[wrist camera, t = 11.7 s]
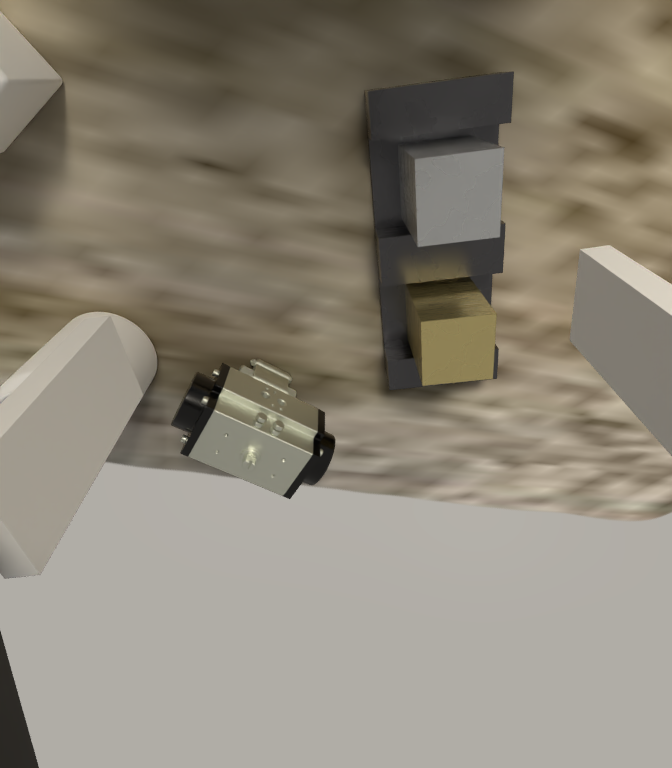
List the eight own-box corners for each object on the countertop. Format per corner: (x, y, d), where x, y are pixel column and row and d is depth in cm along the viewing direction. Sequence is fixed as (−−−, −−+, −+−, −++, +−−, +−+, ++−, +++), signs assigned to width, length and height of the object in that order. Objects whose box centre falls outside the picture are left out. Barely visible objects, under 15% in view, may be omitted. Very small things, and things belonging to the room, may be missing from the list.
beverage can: (179, 364, 44) (134, 449, 34) (112, 405, 47) (51, 497, 36) (111, 290, 41) (39, 360, 31) (43, 339, 43) (-47, 419, 33)
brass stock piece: (405, 281, 40) (421, 321, 34) (467, 274, 40) (496, 314, 33) (407, 337, 43) (422, 385, 36) (466, 331, 43) (492, 378, 36)
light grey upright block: (397, 144, 35) (414, 159, 28) (469, 134, 35) (504, 147, 28) (401, 217, 38) (417, 246, 31) (468, 208, 38) (499, 237, 31)
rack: (364, 90, 34) (367, 91, 31) (499, 72, 33) (513, 71, 31) (385, 372, 45) (389, 390, 43) (487, 361, 45) (496, 378, 42)
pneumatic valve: (310, 424, 48) (305, 517, 38) (195, 370, 45) (155, 456, 34) (340, 380, 46) (343, 467, 35) (220, 320, 42) (186, 396, 32)
